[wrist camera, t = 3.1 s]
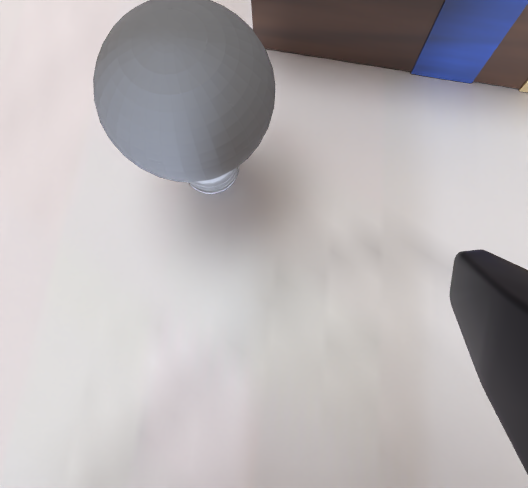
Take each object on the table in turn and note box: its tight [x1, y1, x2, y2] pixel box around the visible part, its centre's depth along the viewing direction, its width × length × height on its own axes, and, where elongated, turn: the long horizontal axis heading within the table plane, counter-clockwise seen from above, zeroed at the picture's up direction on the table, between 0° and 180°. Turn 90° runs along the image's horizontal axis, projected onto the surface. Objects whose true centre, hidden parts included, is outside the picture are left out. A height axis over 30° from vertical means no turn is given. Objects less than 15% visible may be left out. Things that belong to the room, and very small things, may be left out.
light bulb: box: [93, 0, 275, 194], centre depth 19 cm, size 6×6×10 cm
